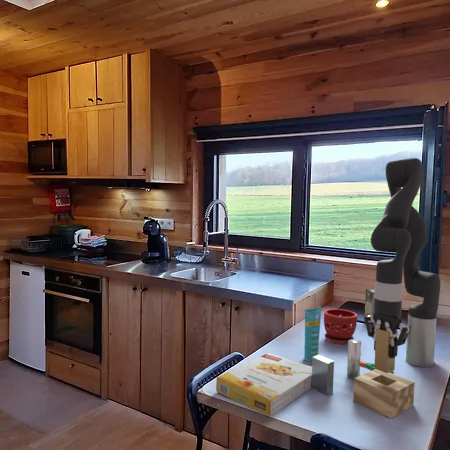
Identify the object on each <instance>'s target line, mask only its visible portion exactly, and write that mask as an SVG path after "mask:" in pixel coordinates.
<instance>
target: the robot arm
mask: <svg viewBox="0 0 450 450" xmlns="http://www.w3.org/2000/svg"><path fill="white" fill-rule="evenodd" d="M424 175H425V173H424V166H423V162H422V160H420V158H417V157H409V158H403V159H395V160H389V161H388V162H387V163H386V165H385V179H386V184H387V187H388V190H389V194H390V199H389V200H388V201H387V203H386V205H385V209H384V211H383V217H382V218H381V219H380V221H379V223H378V224H377V225H376V226H375V228H374V229H373V231H372V233H371V236H370V246H371V247H372V249H373V250H374V251H376V252H379V253H391V254H392V253H393V254H395V257H393V258H391V259H382V260H379V261H378V262H377V264H376V266H375V267H376V268H375V269H376V270H375V285H374V288H373V289H374V314H373V316H371V315H369V316H366V317H365V316H364V317H363V320H364V323H365V328H366V331H367V335H368V337H369V338H372V339H373V340H374V341H373V351H374V352H375V344H376V328H378V329H384V330H387V331H388V332H390V334H389V337H390V344H391V346H390V356H389V357H390V358H392V359H393V358H395V359H396V357H397V356H398V351H399V349H398V347H400V346H402V345H403V346H404V345H405V344H406V351H405V361H406V362H407V363H408V364H411V365H413V366H415V367H421V368H428V367H433V366H434V362H435V351H436V332H437V331H436V329H437V314H438V311H439V301H440V293H441V278H440V276H439V275H438V274H437V273H435V272H434V273H433V272H428V271H424V270H423V271H422V270H419V266H418V259H419V256H420V255H421V253H422V251H423V249H424V248H425V246H426V245H427V244H426V243H427V242H428V232H427V224H426V221H425V218H424V217H423V216H422V214H421V213H420V212H419V210H417V208H415V207H414V206H413V203H414V201H415V199H416V197H417V195H418V193H419V191H420V188H421V186H422V183H423V180H424ZM403 282H404V283H403ZM403 284H404V288H405V291H406V293H407V294H409V295H411V296H414V297H420V298H423V300H422V303H420V304H412V305H409V307H408V309H407V310H408V312H407V325H406V324H405V323H403V321H402V319H401V318H402V317H401V316H402V310H403V309H402V308H403ZM374 322H375V324H376V327H375V326H374ZM398 329H399V330H398ZM393 332H395V333H394V334H392V333H393Z"/></svg>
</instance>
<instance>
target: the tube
mask: <svg viewBox="0 0 450 450" xmlns="http://www.w3.org/2000/svg"><path fill="white" fill-rule="evenodd" d="M321 316H322V306H317V307H314V308H308V309H307V308H305V310H304V360H305V361H307V362H312V357H314V356H317V355H319V349H320V348H319V347H320V331H321V319H322V317H321Z"/></svg>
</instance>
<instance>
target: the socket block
mask: <svg viewBox="0 0 450 450" xmlns="http://www.w3.org/2000/svg"><path fill="white" fill-rule="evenodd" d="M415 383H416V382H414V381H412V380H409V379H407V378H404V377H402V376H400V375H397V374H394V373H393V374H392V373H384V372H382V371H379V370H377V369H374V370H370V371H368V372H365V373H362V374H360V376H358V377H356V378H354V379H353V401H352V402H355V403H357V404H359V405H361V406H363V407H364V408H367V409H368V410H371V411H373V412H375V413H378V414H379V415H382V416H383V417H386V418H389V419H392V418H394V417H396V416H397V415H400V414H401V413H403V412H405V411H407V410H408V409H410V408H412V407H413V406H414V402H415V401H414V400H415Z"/></svg>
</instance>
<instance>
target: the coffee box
mask: <svg viewBox="0 0 450 450" xmlns="http://www.w3.org/2000/svg"><path fill="white" fill-rule="evenodd" d="M374 289H375V288H365V304H364V317H366V316H369V315H371V316H373V314H374ZM374 326H375V328H376V324H375V322H374Z"/></svg>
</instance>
